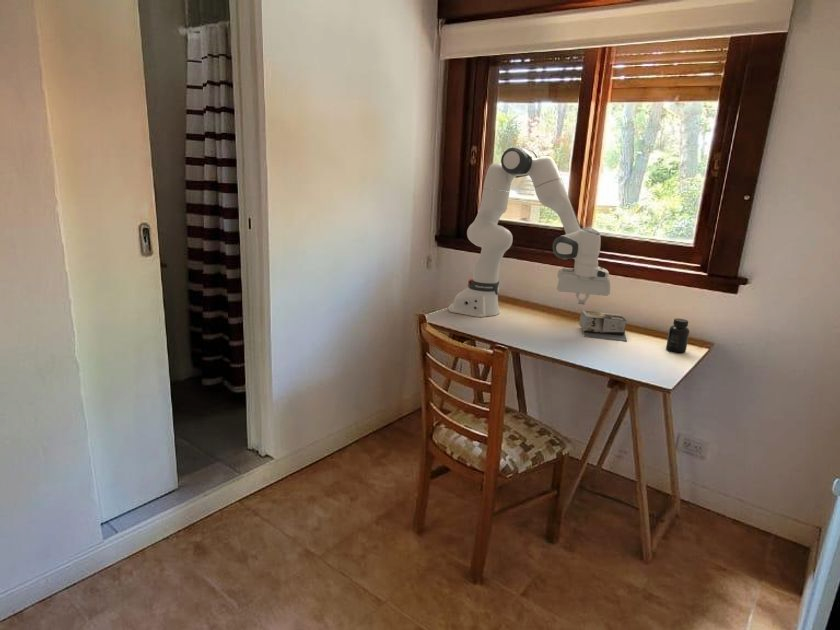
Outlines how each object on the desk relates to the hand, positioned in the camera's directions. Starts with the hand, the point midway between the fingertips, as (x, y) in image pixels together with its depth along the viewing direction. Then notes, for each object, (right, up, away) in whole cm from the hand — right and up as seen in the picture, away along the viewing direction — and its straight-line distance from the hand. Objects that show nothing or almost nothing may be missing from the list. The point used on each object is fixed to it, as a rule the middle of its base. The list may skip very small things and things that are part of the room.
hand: (581, 304), depth 220 cm
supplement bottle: (+31, -18, -15) cm, 39 cm away
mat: (+9, -12, +1) cm, 15 cm away
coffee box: (+1, -7, +2) cm, 7 cm away
